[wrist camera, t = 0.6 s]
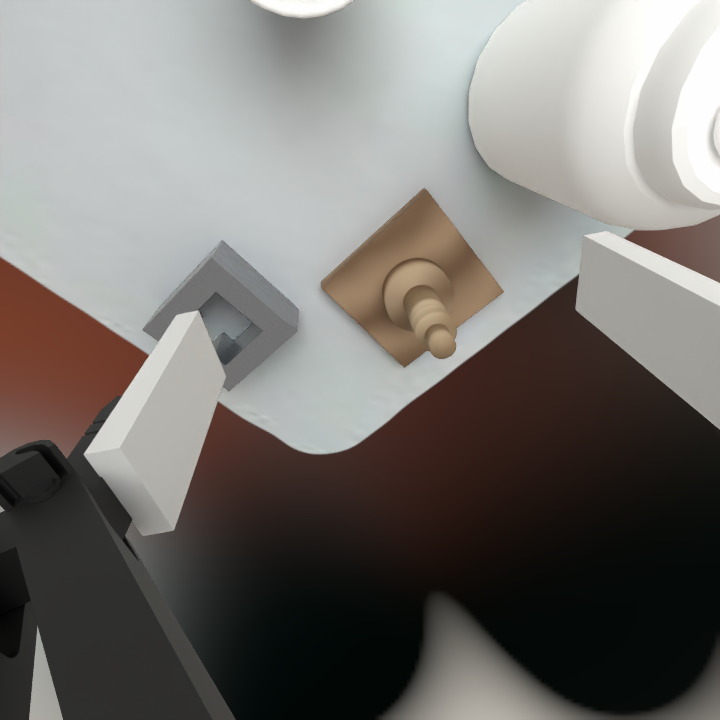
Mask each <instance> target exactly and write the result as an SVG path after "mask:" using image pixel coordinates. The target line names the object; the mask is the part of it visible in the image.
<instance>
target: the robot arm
mask: <svg viewBox="0 0 720 720" xmlns="http://www.w3.org/2000/svg"><path fill="white" fill-rule="evenodd" d="M576 310H577V311H578V312H579V313H580V314H581V315H582V316H584V317H585V318H586V319H587V320H588V321H590V322H591V323H592V324H593V325H595V326H596V327H597V328H598V329H599V330H601V331H602V332H603V333H604V334H605V335H607V336H608V337H609V338H610V339H611V340H613V341H614V342H615V343H616V344H617V345H619V346H620V347H621V348H622V349H624V350H625V351H626V352H627V353H628V354H630V355H631V356H632V357H633V358H634V359H636V360H637V361H638V362H639V363H640V364H642V365H643V366H644V367H645V368H646V369H648V370H649V371H650V372H651V373H652V374H654V375H655V376H656V377H657V378H659V379H660V380H661V381H662V382H664V384H666V385H667V386H668V387H669V388H671V389H672V390H673V391H674V392H675V393H677V394H678V395H679V396H680V397H681V398H683V399H684V400H685V401H686V402H687V403H689V404H690V405H691V406H692V407H693V408H695V409H696V410H697V411H698V412H700V413H701V414H702V415H703V416H704V417H706V418H707V419H708V420H709V421H710V422H712V423H713V424H714V425H715V426H716V427H718V428H719V429H720V283H718V282H716V281H714V280H712V279H710V278H707V277H705V276H703V275H701V274H699V273H697V272H694V271H692V270H690V269H688V268H686V267H684V266H681V265H679V264H677V263H675V262H673V261H670V260H669V259H666V258H664V257H662V256H660V255H658V254H656V253H653V252H651V251H649V250H647V249H645V248H642V247H640V246H638V245H636V244H634V243H632V242H629V241H627V240H625V239H623V238H621V237H619V236H617V235H614V234H612V233H610V232H608V231H604V232H599V233H594V234H588V235H584V238H583V247H582V256H581V265H580V273H579V282H578V292H577V300H576ZM225 378H226V375H225V372H224V370H223V368H222V365H221V363H220V360H219V358H218V356H217V353H216V351H215V348H214V346H213V344H212V341H211V339H210V337H209V334H208V332H207V329H206V327H205V325H204V322H203V320H202V317H201V315H200V313H199V310H198V311H193V312H188V313H183V314H178V315H176V316H175V318H174V319H173V321H172V322H171V324H170V325H169V327H168V328H167V330H166V331H165V333H164V334H163V336H162V337H161V339H160V340H159V342H158V343H157V345H156V346H155V348H154V349H153V351H152V352H151V354H150V355H149V357H148V358H147V360H146V361H145V363H144V364H143V366H142V368H141V369H140V371H139V372H138V373H137V375H136V376H135V378H134V379H133V381H132V383H131V384H130V386H129V387H128V389H127V390H126V391H125V393H124V394H123V396H117V397H116V398H115V399H114V400H112V401H111V402H110V403H109V404H108V405H106V406H105V407H104V408H103V409H102V410H101V411H100V412H99V414H98V415H97V417H96V418H95V420H94V421H93V425H90V427H89V428H88V429H87V431H86V432H85V436H83V437H82V438H81V440H80V441H79V442H78V444H77V445H76V447H75V448H74V449H73V451H72V452H71V454H70V455H69V457H68V458H67V459H66V458H65V456H64V455H63V454H62V452H61V451H60V450H59V449H58V447H57V446H56V445H55V444H54V443H53V442H51V441H50V440H39V441H35V442H31V443H27V444H25V445H23V446H21V447H18V448H16V449H14V450H12V451H11V452H9V453H7V454H6V455H4V456H2V457H1V458H0V506H1V507H2V508H3V509H4V510H5V511H3V512H1V513H0V720H29V713H30V702H31V701H30V700H31V691H32V679H33V668H34V656H35V646H36V635H37V625H38V628H39V632H40V636H41V640H42V643H43V647H44V651H45V654H46V658H47V662H48V665H49V669H50V673H51V676H52V680H53V684H54V687H55V691H56V694H57V698H58V702H59V705H60V709H61V713H62V717H63V720H235V718H234V716H233V715H232V713H231V711H230V709H229V708H228V706H227V704H226V703H225V701H224V699H223V698H222V696H221V694H220V693H219V691H218V689H217V688H216V686H215V684H214V682H213V681H212V679H211V677H210V676H209V674H208V672H207V671H206V669H205V667H204V666H203V664H202V662H201V661H200V659H199V657H198V655H197V654H196V652H195V650H194V649H193V647H192V645H191V644H190V642H189V640H188V639H187V637H186V635H185V634H184V632H183V630H182V628H181V627H180V625H179V624H178V622H177V620H176V618H175V617H174V615H173V613H172V612H171V610H170V608H169V607H168V605H167V603H166V601H165V600H164V598H163V597H162V595H161V593H160V591H159V590H158V588H157V586H156V585H155V583H154V581H153V580H152V578H151V576H150V574H149V573H148V571H147V569H146V568H145V566H144V565H143V563H142V561H141V559H140V558H139V556H138V554H137V553H136V551H135V549H134V547H133V546H132V544H131V543H130V542H129V540H128V539H127V538H126V536H125V534H126V532H127V530H128V528H129V525H130V523H131V521H133V523H134V524H135V526H136V527H137V529H138V530H139V531H140V533H141V534H142V535H143V536H145V535H151V534H156V533H162V532H168V531H172V530H174V528H175V525H176V522H177V519H178V516H179V513H180V510H181V508H182V505H183V502H184V499H185V496H186V493H187V490H188V487H189V484H190V481H191V478H192V475H193V472H194V469H195V466H196V464H197V460H198V457H199V454H200V452H201V449H202V446H203V443H204V440H205V437H206V434H207V431H208V428H209V425H210V422H211V419H212V416H213V413H214V410H215V408H216V405H217V402H218V399H219V396H220V393H221V390H222V387H223V384H224V381H225Z"/></svg>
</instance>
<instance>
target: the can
mask: <svg viewBox="0 0 720 720" xmlns="http://www.w3.org/2000/svg"><path fill="white" fill-rule="evenodd" d="M468 122H469V126H470V129H471V133H472V137H473V140H474V144H475V147H476V149H477V150H478V152H479V153H480V155H481V156H482V158H483V159H484V161H485V162H486V164H487V165H488V167H489V168H491V169H492V170H494V171H495V172H497V173H498V174H500V175H501V176H503V177H504V178H506V179H507V180H509V181H512V182H514V183H516V184H518V185H521V186H523V187H525V188H527V189H529V190H532V191H534V192H536V193H538V194H541V195H543V196H545V197H547V198H550V199H552V200H554V201H556V202H559V203H561V204H563V205H565V206H568V207H570V208H572V209H574V210H577V211H579V212H581V213H583V214H586V215H588V216H590V217H592V218H594V219H597V220H599V221H601V222H603V223H606V224H610V225H615V226H620V227H625V228H629V229H634V230H664V229H671V228H678V227H684V226H692V225H696V224H699V223H701V222H703V221H706V220H708V219H710V218H713V217H715V216H717V215H720V0H527V1H525V2H524V3H522V4H520V5H518V7H517V8H516V9H515V10H514V11H513V12H512V13H511V14H510V15H509V16H508V17H507V18H506V19H505V20H504V21H503V22H502V23H501V24H500V25H499V26H498V27H497V28H496V29H495V30H494V32H493V34H492V36H491V37H490V39H489V41H488V43H487V44H486V46H485V48H484V50H483V51H482V53H481V55H480V57H479V58H478V61H477V64H476V68H475V72H474V75H473V79H472V82H471V86H470V89H469V115H468Z"/></svg>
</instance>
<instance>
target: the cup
mask: <svg viewBox="0 0 720 720" xmlns="http://www.w3.org/2000/svg"><path fill="white" fill-rule="evenodd" d="M250 1H252V2H253V3H255V4H256V5H258V6H259V7H261V8H263V9H265V10H268V11H271V12H273V13H276V14H279V15H281V16H286V17H294V18H302V19H305V18H313V17H321V16H325V15H327V14H330V13H333V12H335V11H338V10H340V9H342V8H344V7H345V6H347V5H348V4H350V3H351V2H353V1H354V0H250Z"/></svg>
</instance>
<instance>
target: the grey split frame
mask: <svg viewBox="0 0 720 720" xmlns="http://www.w3.org/2000/svg"><path fill="white" fill-rule="evenodd" d="M215 292H217V293H218V294H219V295H220V296H222V297H223V298H224V299H225V300H226V301H228V302H229V303H230V304H231V305H232V306H234V307H235V308H236V309H237V310H238V311H240V312H241V313H242V314H243V315H245V316H246V317H247V318H248V319H249V320H251V321H252V322H253V324H252V325H251V326H250V327H248V328H247V329H246V330H245V331H244V332H243V333H242V334H241V335H240V336H239V337H238V338H237V339H236V340H235V341H234V340H232V339H231V338H230V337H228V336H227V335H226V334H225V333H222V334H221V335H220V336H219V337H218V338H217V339H216V340H215V341H214V342H213V343H212V344H213V346H214V348H215V351H216V353H217V356H218V358H219V360H220V363H221V365H222V368H223V370H224V372H225V375H226V378H225V381H224V384H223V387H224V388H225V389H226V390H228V391H230V390H231V389H232V388H233V387H234V386H236V385H237V384H238V383H239V382H240V381H241V380H242V379H244V378H245V377H246V376H247V375H248V374H249V373H250V372H251V371H253V370H254V369H255V368H256V367H257V366H258V365H259V364H260V363H262V362H263V361H264V360H265V359H266V358H267V357H268V356H270V355H271V354H272V353H273V352H274V351H275V350H276V349H277V348H279V347H280V346H281V345H282V344H283V343H284V342H285V341H287V340H288V339H289V338H290V337H291V336H292V335H293V334H294V333H296V332H297V323H298V312H299V309H298V308H297V307H296V306H295V305H294V304H292V303H291V302H290V301H289V300H288V299H287V298H286V297H285V296H284V295H283V294H281V293H280V292H279V291H278V290H277V289H276V288H275V287H274V286H273V285H271V284H270V283H269V282H268V281H267V280H266V279H265V278H264V277H263V276H261V275H260V274H259V273H258V272H257V271H256V270H255V269H254V268H253V267H251V266H250V265H249V264H248V263H247V262H246V261H245V260H244V259H243V258H241V257H240V256H239V255H238V254H237V253H236V252H235V251H234V250H233V249H232V248H230V247H229V246H228V245H227V244H226V243H225V242H224V241H223V240H222V241H221V243H220V244H219V245H218V246H217V247H216V248H215V249H214V250H213V251H212V252H211V253H210V254H209V255H208V256H207V257H206V258H205V259H204V261H203V262H202V263H201V264H200V265H199V266H198V267H197V268H196V269H195V270H194V271H193V272H192V273H191V274H190V275H189V276H188V277H187V278H186V280H185V281H184V282H183V283H182V284H181V285H180V286H179V287H178V288H177V289H176V290H175V291H174V292H173V293H172V294H171V295H170V296H169V298H168V299H167V300H166V301H165V302H164V303H163V304H162V305H161V306H160V307H159V308H158V310H157V311H156V312H155V314H154V315H153V316H152V318H151V319H150V320H149V322H148V323H147V324H146V326H145V327H144V328H143V331H145V332H146V333H148V334H149V335H150V336H152V337H153V338H155V339H156V340H157V341H159V340H160V339H161V337H162V336H163V334H164V333H165V331H166V330H167V328H168V327H169V325H170V324H171V322H172V321H173V319H174V318H175V316H176V315H178V314H183V313H188V312H193V311H197V310H198V309H199V308H200V307H201V306H202V305H203V304H204V303H205V302H206V301H207V300H208V299H209V298H210V297H211V296H212V295H213V294H214V293H215ZM201 317H203V316H202V315H201Z"/></svg>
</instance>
